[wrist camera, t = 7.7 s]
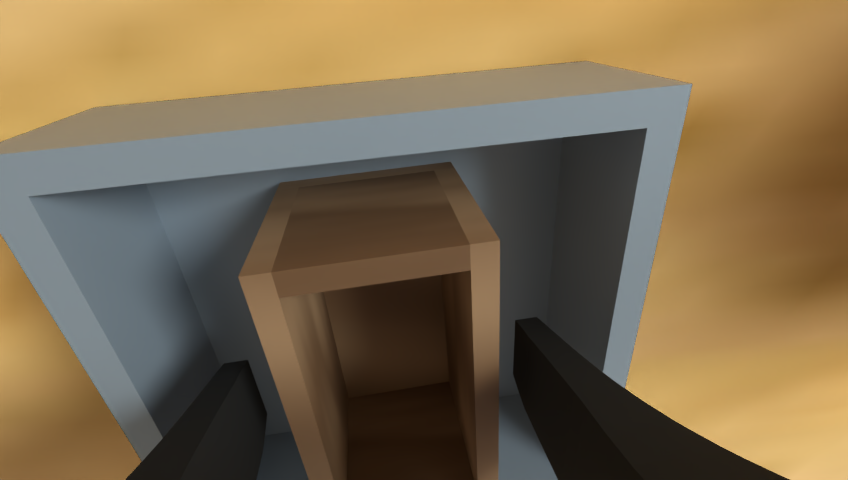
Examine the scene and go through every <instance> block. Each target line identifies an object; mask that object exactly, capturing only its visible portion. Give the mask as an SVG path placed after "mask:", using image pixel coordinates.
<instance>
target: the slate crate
mask: <svg viewBox="0 0 848 480" xmlns="http://www.w3.org/2000/svg"><path fill="white" fill-rule="evenodd" d="M691 88H692V84H691V83H686V82H681V81H677V80H672V79H668V78H663V77H658V76H654V75H649V74H644V73H640V72H635V71H631V70H626V69H621V68H617V67H612V66H607V65H603V64H598V63H594V62H589V61H580V62H570V63H559V64H549V65H538V66H527V67H517V68H506V69H496V70H485V71H475V72H464V73H453V74H443V75H432V76H422V77H411V78H400V79H390V80H379V81H369V82H358V83H348V84H337V85H326V86H316V87H305V88H295V89H284V90H273V91H263V92H252V93H242V94H231V95H221V96H210V97H199V98H189V99H178V100H168V101H157V102H146V103H136V104H125V105H115V106H104V107H94V108H92V109H89V110H86V111H83V112H81V113H78V114H75V115H73V116H70V117H67V118H64V119H62V120H59V121H56V122H54V123H51V124H48V125H45V126H43V127H40V128H37V129H34V130H32V131H29V132H26V133H24V134H21V135H18V136H15V137H13V138H10V139H7V140H5V141H2V142H0V234H1V235H2V237H3V238H4V240H5V242H6V243H7V245H8V246H9V248H10V250H11V251H12V253H13V255H14V256H15V258H16V259H17V261H18V263H19V264H20V266H21V267H22V269H23V271H24V272H25V274H26V275H27V277H28V279H29V280H30V282H31V284H32V285H33V287H34V288H35V290H36V292H37V293H38V295H39V296H40V298H41V300H42V301H43V303H44V305H45V306H46V308H47V309H48V311H49V313H50V314H51V316H52V317H53V319H54V321H55V322H56V324H57V325H58V327H59V329H60V330H61V332H62V334H63V335H64V337H65V338H66V340H67V342H68V343H69V345H70V346H71V348H72V350H73V351H74V353H75V354H76V356H77V358H78V359H79V361H80V363H81V364H82V366H83V367H84V369H85V371H86V372H87V374H88V375H89V377H90V379H91V380H92V382H93V383H94V385H95V387H96V388H97V390H98V392H99V393H100V395H101V396H102V398H103V400H104V401H105V403H106V404H107V406H108V408H109V409H110V411H111V413H112V414H113V416H114V417H115V419H116V421H117V422H118V424H119V425H120V427H121V429H122V430H123V432H124V433H125V435H126V437H127V438H128V440H129V442H130V443H131V445H132V446H133V448H134V450H135V451H136V453H137V454H138V456H139V458H140V459H141V461H143V460H144V459H145V458H146V456H147V455H148V454H149V453H150V452H151V451H152V450H153V449H154V448H155V446H156V445H157V444H158V443H159V442H160V441H161V440H162V438H163V437H164V436H165V435H166V434H167V433H168V431H169V430H170V429H171V428H172V427H173V425H174V424H175V423H176V422H177V421H178V419H179V418H180V417H181V416H182V415H183V413H184V412H185V411H186V410H187V408H188V407H189V406H190V405H191V403H192V402H193V401H194V400H195V398H196V397H197V396H198V395H199V393H200V392H201V391H202V390H203V388H204V387H205V386H206V385H207V383H208V382H209V381H210V380H211V378H212V377H213V376H214V375H215V374H216V372H217V371H218V370H219V369H220V368H221V366H222V365H223V364H224V363H230V362H237V361H243V360H248V362H249V364H250V367H251V370H252V373H253V375H254V378H255V381H256V384H257V387H258V389H259V392H260V395H261V398H262V400H263V403H264V406H265V409H266V411H267V421H266V430H265V439H264V447H263V454H262V458H261V463H260V467H259V471H258V475H257V479H256V480H309V479H308V476H307V473H306V470H305V467H304V465H303V462H302V459H301V456H300V453H299V450H298V447H297V445H296V442H295V439H294V436H293V433H292V430H291V427H290V424H289V422H288V419H287V416H286V413H285V410H284V407H283V404H282V402H281V399H280V396H279V393H278V390H277V387H276V384H275V381H274V379H273V376H272V373H271V370H270V367H269V364H268V361H267V358H266V356H265V353H264V350H263V347H262V344H261V341H260V338H259V336H258V333H257V330H256V327H255V324H254V321H253V318H252V315H251V313H250V310H249V307H248V304H247V301H246V298H245V295H244V292H243V290H242V287H241V284H240V281H239V278H238V276H239V274H240V272H241V269H242V267H243V265H244V263H245V260H246V258H247V256H248V254H249V251H250V249H251V247H252V245H253V242H254V240H255V238H256V236H257V233H258V231H259V229H260V227H261V224H262V222H263V220H264V218H265V215H266V213H267V211H268V209H269V206H270V204H271V202H272V200H273V197H274V195H275V193H276V191H277V188H278V186H279V184H280V182H288V181H297V180H305V179H313V178H321V177H329V176H337V175H345V174H353V173H361V172H370V171H378V170H386V169H394V168H402V167H410V166H418V165H426V164H434V163H443V162H451V163H452V165H453V166H454V168H455V169H456V171H457V173H458V174H459V176H460V177H461V179H462V180H463V182H464V184H465V185H466V187H467V188H468V190H469V192H470V193H471V195H472V196H473V198H474V200H475V201H476V203H477V204H478V206H479V208H480V209H481V211H482V212H483V214H484V215H485V217H486V219H487V220H488V222H489V223H490V225H491V227H492V228H493V230H494V231H495V233H496V235H497V236H498V238H499V239H500V322H499V466H498V480H558V479H557V477H556V475H555V473H554V471H553V468H552V466H551V464H550V462H549V460H548V458H547V456H546V454H545V451H544V449H543V447H542V445H541V443H540V441H539V439H538V437H537V435H536V432H535V430H534V428H533V426H532V424H531V422H530V420H529V417H528V415H527V413H526V411H525V409H524V406H523V403H522V400H521V397H520V394H519V391H518V388H517V385H516V382H515V379H514V376H513V361H514V338H515V320H519V319H526V318H532V317H537V318H539V319H540V320H541V321H542V322H543V323H545V324H546V325H547V326H548V327H549V328H550V329H551V330H553V331H554V332H555V333H556V334H557V335H558V336H559V337H561V338H562V339H563V340H564V341H565V342H566V343H568V344H569V345H570V346H571V347H572V348H573V349H575V350H576V351H577V352H578V353H579V354H581V355H582V356H583V357H584V358H586V359H587V360H588V361H589V362H591V363H592V364H593V365H594V366H596V367H597V368H598V369H599V370H601V371H602V372H603V373H604V374H606V375H607V376H608V377H610V378H611V379H612V380H614V381H615V382H616V383H618V384H619V385H621V386H622V387H623V388H625V385H626V381H627V376H628V372H629V367H630V363H631V358H632V354H633V349H634V345H635V340H636V336H637V331H638V327H639V322H640V318H641V313H642V309H643V304H644V300H645V295H646V291H647V286H648V282H649V277H650V273H651V268H652V264H653V259H654V255H655V250H656V246H657V241H658V237H659V232H660V228H661V223H662V219H663V214H664V210H665V205H666V201H667V196H668V191H669V187H670V182H671V178H672V173H673V169H674V164H675V160H676V155H677V151H678V146H679V142H680V137H681V133H682V128H683V124H684V119H685V115H686V110H687V106H688V101H689V97H690V92H691Z"/></svg>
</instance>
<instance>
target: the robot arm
mask: <svg viewBox="0 0 848 480" xmlns="http://www.w3.org/2000/svg"><path fill="white" fill-rule="evenodd" d="M513 376H514V379H515V382H516V385H517V388H518V391H519V394H520V397H521V400H522V403H523V406H524V409H525V411H526V413H527V415H528V417H529V420H530V422H531V424H532V426H533V428H534V430H535V432H536V435H537V437H538V439H539V441H540V443H541V445H542V447H543V449H544V451H545V454H546V456H547V458H548V460H549V462H550V464H551V466H552V468H553V471H554V473H555V475H556V477H557V479H558V480H789V479H787V478H785V477H782V476H780V475H778V474H776V473H774V472H772V471H770V470H767V469H765V468H763V467H761V466H759V465H757V464H755V463H753V462H750V461H748V460H746V459H744V458H742V457H740V456H738V455H736V454H734V453H732V452H730V451H728V450H726V449H724V448H722V447H720V446H718V445H717V444H715V443H713V442H711V441H709V440H708V439H706V438H704V437H702V436H700V435H698V434H697V433H695V432H693V431H691V430H689V429H687V428H686V427H684V426H682V425H681V424H679V423H677V422H675V421H674V420H672V419H670V418H669V417H667V416H666V415H664V414H663V413H661V412H659V411H658V410H656V409H655V408H653V407H651V406H650V405H648V404H647V403H645V402H644V401H642V400H641V399H639V398H638V397H636V396H635V395H633V394H632V393H630V392H629V391H628V390H626V389H625V388H623V387H622V386H621V385H619V384H618V383H616V382H615V381H614V380H612V379H611V378H610V377H608V376H607V375H606V374H604V373H603V372H602V371H601V370H599V369H598V368H597V367H596V366H594V365H593V364H592V363H591V362H589V361H588V360H587V359H586V358H584V357H583V356H582V355H581V354H579V353H578V352H577V351H576V350H575V349H573V348H572V347H571V346H570V345H569V344H568V343H566V342H565V341H564V340H563V339H562V338H561V337H559V336H558V335H557V334H556V333H555V332H554V331H553V330H551V329H550V328H549V327H548V326H547V325H546V324H545V323H543V322H542V321H541V320H540V319H539V318H537V317H532V318H526V319H519V320H515V338H514V361H513ZM266 421H267V411H266V409H265V406H264V403H263V400H262V398H261V395H260V392H259V389H258V387H257V384H256V381H255V378H254V375H253V373H252V370H251V367H250V364H249V362H248V360H243V361H237V362H230V363H224V364H223V365H222V366H221V368H220V369H219V370H218V371H217V372H216V374H215V375H214V376H213V377H212V378H211V380H210V381H209V382H208V383H207V385H206V386H205V387H204V388H203V390H202V391H201V392H200V393H199V395H198V396H197V397H196V398H195V400H194V401H193V402H192V403H191V405H190V406H189V407H188V408H187V410H186V411H185V412H184V413H183V415H182V416H181V417H180V418H179V419H178V421H177V422H176V423H175V424H174V425H173V427H172V428H171V429H170V430H169V431H168V433H167V434H166V435H165V436H164V437H163V438H162V440H161V441H160V442H159V443H158V444H157V445H156V446H155V448H154V449H153V450H152V451H151V452H150V453H149V454H148V455H147V456H146V458H145V459H144V460H143V461H142V462H141V463H140V464H139V465H138V467H137V468H136V469H135V470H134V471H133V472H132V473H131V474H130V475H129V476H128V477H127V478H126V480H256V479H257V475H258V471H259V467H260V463H261V458H262V454H263V447H264V439H265V430H266Z"/></svg>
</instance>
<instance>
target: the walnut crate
mask: <svg viewBox="0 0 848 480" xmlns="http://www.w3.org/2000/svg"><path fill="white" fill-rule="evenodd" d="M238 278H239V281H240V284H241V287H242V290H243V292H244V295H245V298H246V301H247V304H248V307H249V310H250V313H251V315H252V318H253V321H254V324H255V327H256V330H257V333H258V336H259V338H260V341H261V344H262V347H263V350H264V353H265V356H266V358H267V361H268V364H269V367H270V370H271V373H272V376H273V379H274V381H275V384H276V387H277V390H278V393H279V396H280V399H281V402H282V404H283V407H284V410H285V413H286V416H287V419H288V422H289V424H290V427H291V430H292V433H293V436H294V439H295V442H296V445H297V447H298V450H299V453H300V456H301V459H302V462H303V465H304V467H305V470H306V473H307V476H308V479H309V480H498V466H499V322H500V239H499V238H498V236H497V235H496V233H495V231H494V230H493V228H492V227H491V225H490V223H489V222H488V220H487V219H486V217H485V215H484V214H483V212H482V211H481V209H480V208H479V206H478V204H477V203H476V201H475V200H474V198H473V196H472V195H471V193H470V192H469V190H468V188H467V187H466V185H465V184H464V182H463V180H462V179H461V177H460V176H459V174H458V173H457V171H456V169H455V168H454V166H453V165H452V163H451V162H443V163H434V164H426V165H418V166H410V167H402V168H394V169H386V170H378V171H370V172H361V173H353V174H345V175H337V176H329V177H321V178H313V179H305V180H297V181H288V182H280V184H279V186H278V188H277V191H276V193H275V195H274V197H273V200H272V202H271V204H270V206H269V209H268V211H267V213H266V215H265V218H264V220H263V222H262V224H261V227H260V229H259V231H258V233H257V236H256V238H255V240H254V242H253V245H252V247H251V249H250V251H249V254H248V256H247V258H246V260H245V263H244V265H243V267H242V269H241V272H240V274H239V276H238Z"/></svg>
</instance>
